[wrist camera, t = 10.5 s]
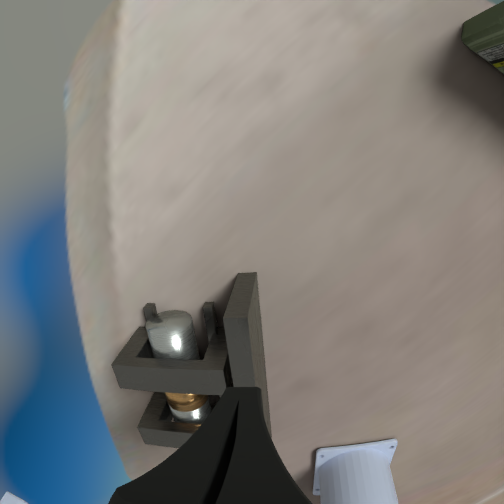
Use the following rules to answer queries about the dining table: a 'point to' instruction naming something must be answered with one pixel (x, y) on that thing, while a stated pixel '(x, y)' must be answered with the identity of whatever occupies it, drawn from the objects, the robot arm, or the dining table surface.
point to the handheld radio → (487, 35)
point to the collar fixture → (198, 364)
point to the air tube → (183, 348)
